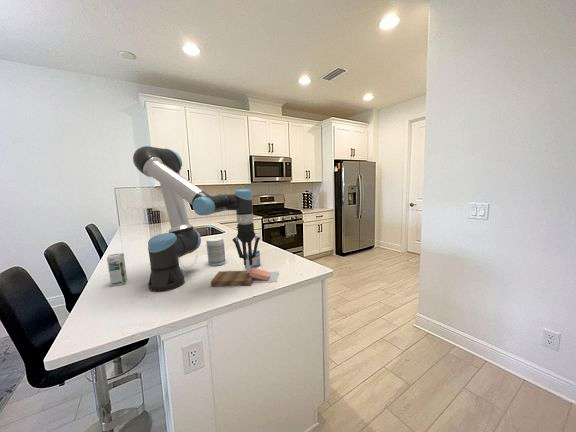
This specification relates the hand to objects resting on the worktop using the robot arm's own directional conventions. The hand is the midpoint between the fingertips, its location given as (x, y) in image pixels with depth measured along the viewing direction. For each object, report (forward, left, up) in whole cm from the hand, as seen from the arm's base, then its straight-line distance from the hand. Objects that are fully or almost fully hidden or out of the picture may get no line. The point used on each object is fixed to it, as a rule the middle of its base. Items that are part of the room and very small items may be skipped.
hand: (248, 271), depth 112 cm
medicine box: (-1, +17, -4) cm, 18 cm away
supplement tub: (-23, +24, -4) cm, 34 cm away
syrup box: (-63, 0, -4) cm, 63 cm away
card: (+5, 0, -2) cm, 5 cm away
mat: (+8, +2, -4) cm, 9 cm away
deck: (-7, -1, -4) cm, 8 cm away
